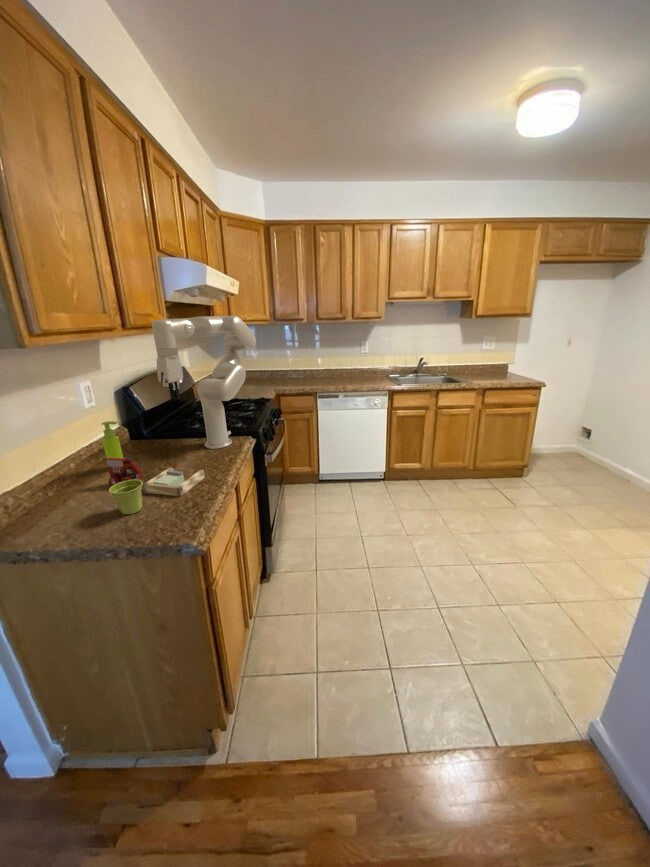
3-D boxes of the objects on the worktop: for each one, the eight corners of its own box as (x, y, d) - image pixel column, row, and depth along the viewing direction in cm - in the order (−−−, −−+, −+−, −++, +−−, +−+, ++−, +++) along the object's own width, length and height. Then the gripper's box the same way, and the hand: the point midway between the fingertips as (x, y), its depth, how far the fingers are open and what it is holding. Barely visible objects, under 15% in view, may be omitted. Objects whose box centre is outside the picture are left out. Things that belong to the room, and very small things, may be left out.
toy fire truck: (136, 488, 128) (130, 462, 125) (105, 487, 130) (99, 461, 127) (148, 480, 135) (142, 455, 131) (118, 479, 136) (112, 454, 133)
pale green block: (170, 480, 134) (168, 470, 133) (184, 482, 132) (182, 471, 130) (154, 490, 127) (152, 479, 125) (169, 492, 125) (167, 481, 123)
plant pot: (111, 510, 114) (105, 486, 111) (141, 499, 120) (136, 476, 117) (121, 521, 108) (114, 496, 105) (152, 509, 114) (147, 485, 111)
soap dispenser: (123, 470, 144) (111, 423, 138) (106, 471, 144) (94, 424, 138) (130, 464, 150) (120, 419, 143) (114, 465, 150) (103, 420, 143)
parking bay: (170, 474, 139) (169, 467, 138) (204, 477, 135) (203, 470, 134) (144, 492, 125) (142, 484, 124) (181, 496, 122) (179, 488, 121)
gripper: (171, 351, 145) (178, 394, 151) (145, 355, 132) (155, 403, 137) (187, 350, 143) (194, 395, 149) (163, 355, 130) (172, 403, 136)
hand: (175, 398), depth 143 cm, fingers closed
